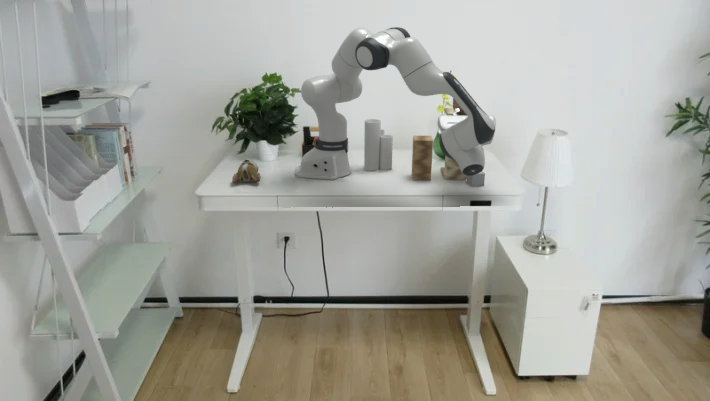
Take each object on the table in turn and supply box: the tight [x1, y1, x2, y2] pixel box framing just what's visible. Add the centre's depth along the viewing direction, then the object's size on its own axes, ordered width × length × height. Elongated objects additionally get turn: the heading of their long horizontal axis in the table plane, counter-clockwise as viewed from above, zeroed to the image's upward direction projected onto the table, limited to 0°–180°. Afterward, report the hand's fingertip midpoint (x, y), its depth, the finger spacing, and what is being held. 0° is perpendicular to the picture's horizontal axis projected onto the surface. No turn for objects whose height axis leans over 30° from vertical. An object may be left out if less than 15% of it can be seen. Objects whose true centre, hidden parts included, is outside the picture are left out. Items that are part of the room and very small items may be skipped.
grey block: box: [465, 171, 486, 188], centre depth 209 cm, size 5×5×5 cm
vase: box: [363, 118, 394, 172], centre depth 224 cm, size 11×7×20 cm, turn 97°
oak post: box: [411, 135, 434, 181], centre depth 214 cm, size 7×7×16 cm
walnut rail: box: [452, 97, 467, 116], centre depth 207 cm, size 4×20×4 cm, turn 178°
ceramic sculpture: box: [232, 157, 261, 184], centre depth 212 cm, size 11×9×15 cm
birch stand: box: [439, 107, 467, 180], centre depth 215 cm, size 11×10×26 cm
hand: (464, 109), depth 200 cm, fingers closed on walnut rail, 4 cm apart
